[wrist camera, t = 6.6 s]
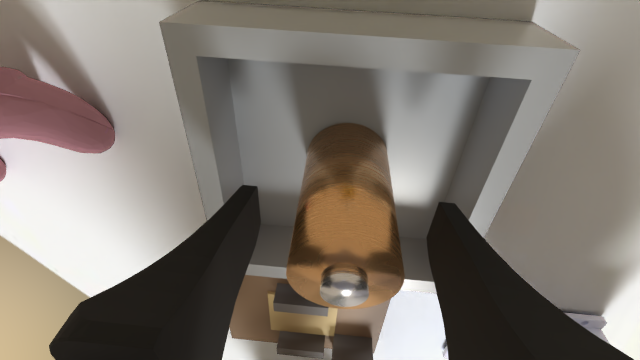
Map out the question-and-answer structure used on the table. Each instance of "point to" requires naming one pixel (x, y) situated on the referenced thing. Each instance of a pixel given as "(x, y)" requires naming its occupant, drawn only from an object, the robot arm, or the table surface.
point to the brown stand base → (303, 322)
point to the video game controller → (49, 116)
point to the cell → (346, 222)
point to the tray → (360, 108)
